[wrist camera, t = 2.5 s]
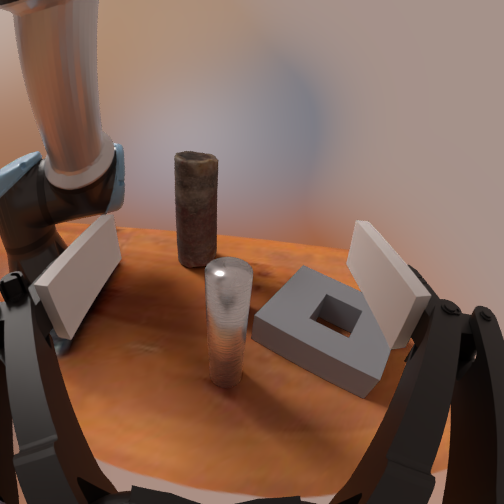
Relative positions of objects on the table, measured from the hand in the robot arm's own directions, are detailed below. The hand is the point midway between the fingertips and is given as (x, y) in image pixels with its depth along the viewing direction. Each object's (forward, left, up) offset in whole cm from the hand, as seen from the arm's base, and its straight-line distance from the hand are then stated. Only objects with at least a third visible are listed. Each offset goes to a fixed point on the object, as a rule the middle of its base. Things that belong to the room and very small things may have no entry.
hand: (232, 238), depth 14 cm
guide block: (+4, +19, -24) cm, 30 cm away
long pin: (-4, +5, -24) cm, 24 cm away
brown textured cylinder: (-24, +21, -24) cm, 40 cm away
